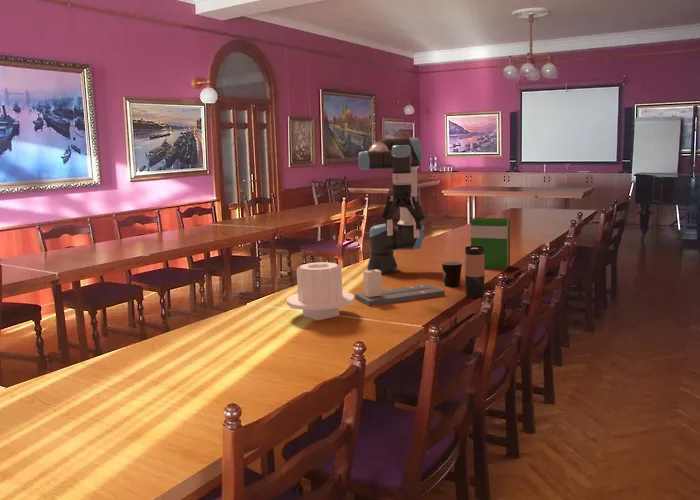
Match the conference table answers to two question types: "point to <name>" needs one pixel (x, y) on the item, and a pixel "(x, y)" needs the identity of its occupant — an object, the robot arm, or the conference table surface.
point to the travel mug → (474, 271)
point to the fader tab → (372, 283)
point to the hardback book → (492, 240)
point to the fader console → (401, 295)
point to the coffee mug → (452, 273)
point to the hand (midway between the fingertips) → (403, 236)
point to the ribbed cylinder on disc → (320, 291)
